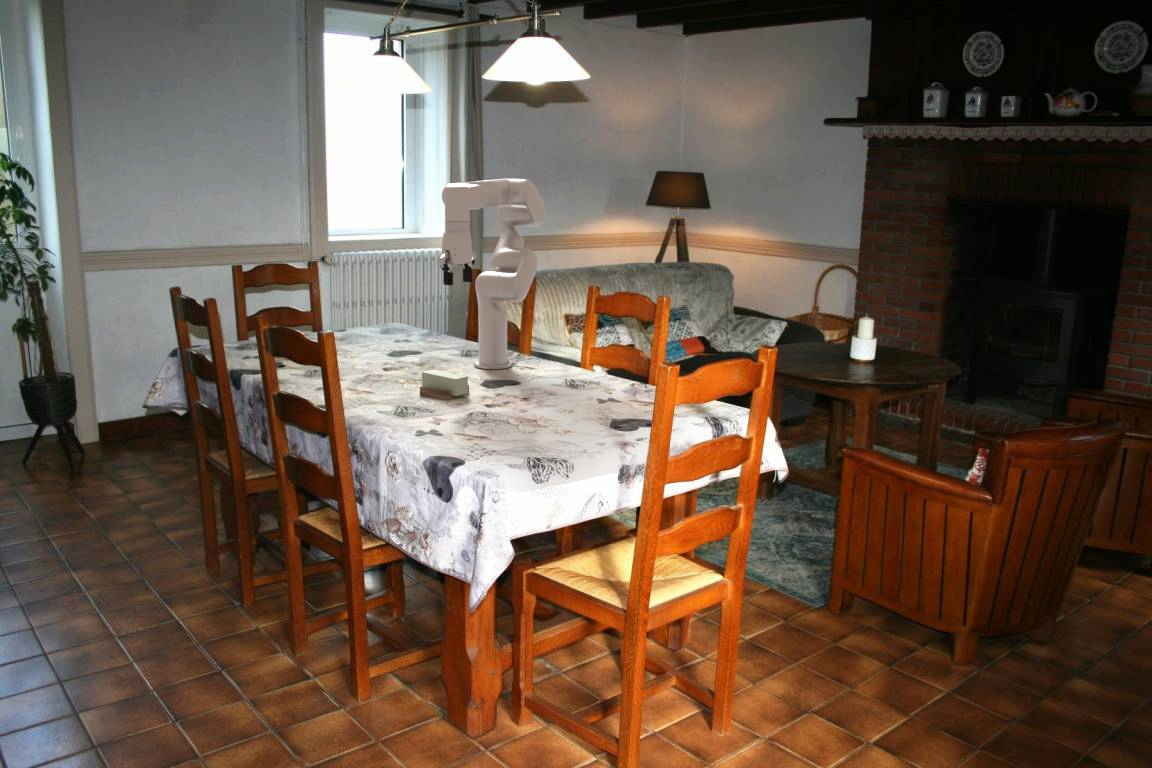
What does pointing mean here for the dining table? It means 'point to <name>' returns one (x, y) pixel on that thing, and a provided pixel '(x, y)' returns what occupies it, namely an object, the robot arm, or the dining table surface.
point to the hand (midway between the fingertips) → (458, 283)
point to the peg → (446, 381)
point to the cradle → (437, 393)
